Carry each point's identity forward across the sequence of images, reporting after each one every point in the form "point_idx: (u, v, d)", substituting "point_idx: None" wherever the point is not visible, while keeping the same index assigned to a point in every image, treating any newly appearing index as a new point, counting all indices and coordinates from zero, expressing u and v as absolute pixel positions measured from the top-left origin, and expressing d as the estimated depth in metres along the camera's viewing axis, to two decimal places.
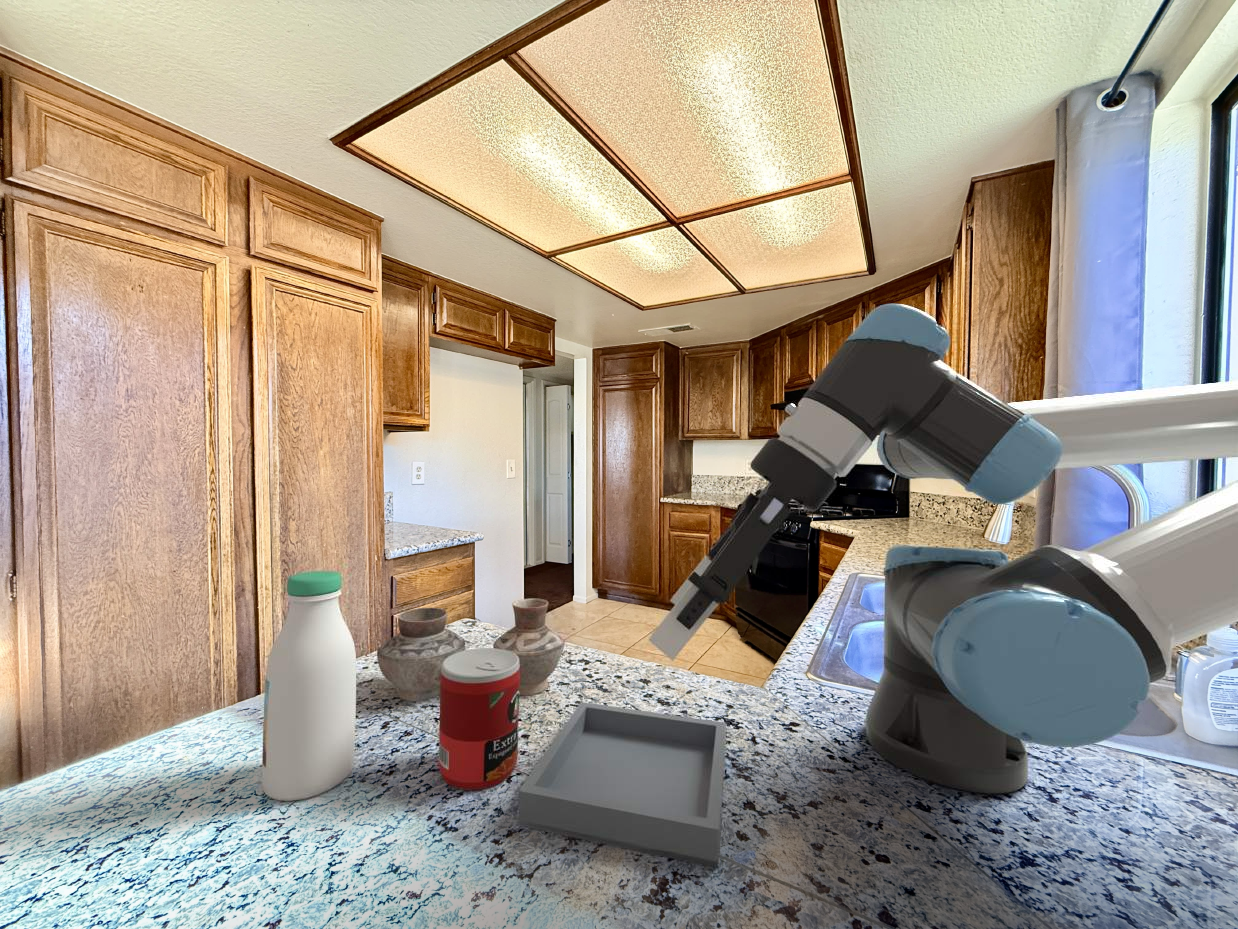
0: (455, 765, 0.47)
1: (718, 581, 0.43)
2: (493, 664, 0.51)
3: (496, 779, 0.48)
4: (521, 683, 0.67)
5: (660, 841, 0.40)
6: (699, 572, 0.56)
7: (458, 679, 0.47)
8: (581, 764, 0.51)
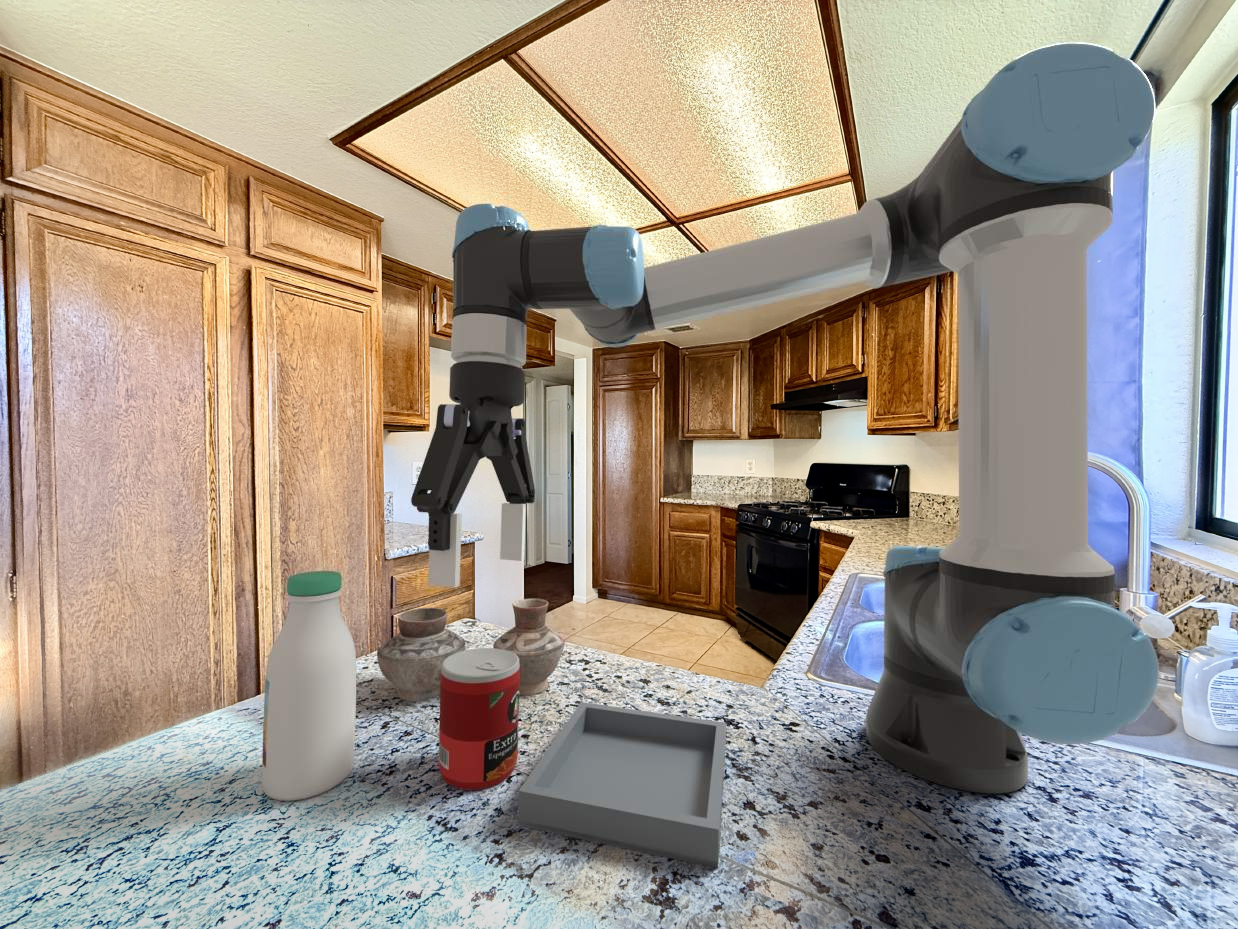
0: (455, 765, 0.47)
1: None
2: (493, 664, 0.51)
3: (496, 779, 0.48)
4: (521, 683, 0.67)
5: (660, 841, 0.40)
6: (506, 519, 0.58)
7: (458, 679, 0.47)
8: (581, 764, 0.51)
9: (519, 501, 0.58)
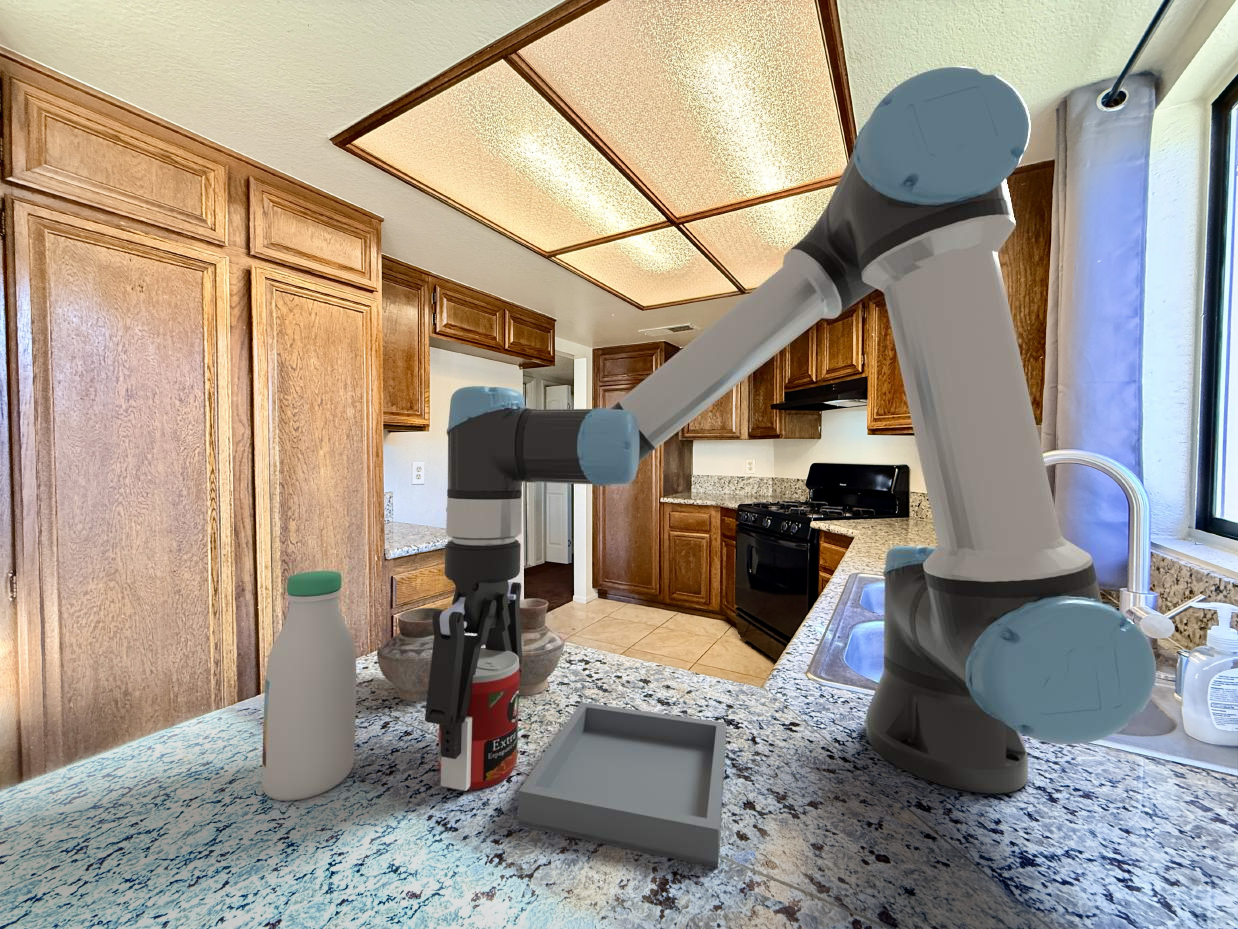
0: None
1: None
2: (493, 664, 0.51)
3: (496, 779, 0.48)
4: (521, 683, 0.67)
5: (660, 841, 0.40)
6: None
7: None
8: (581, 764, 0.51)
9: None
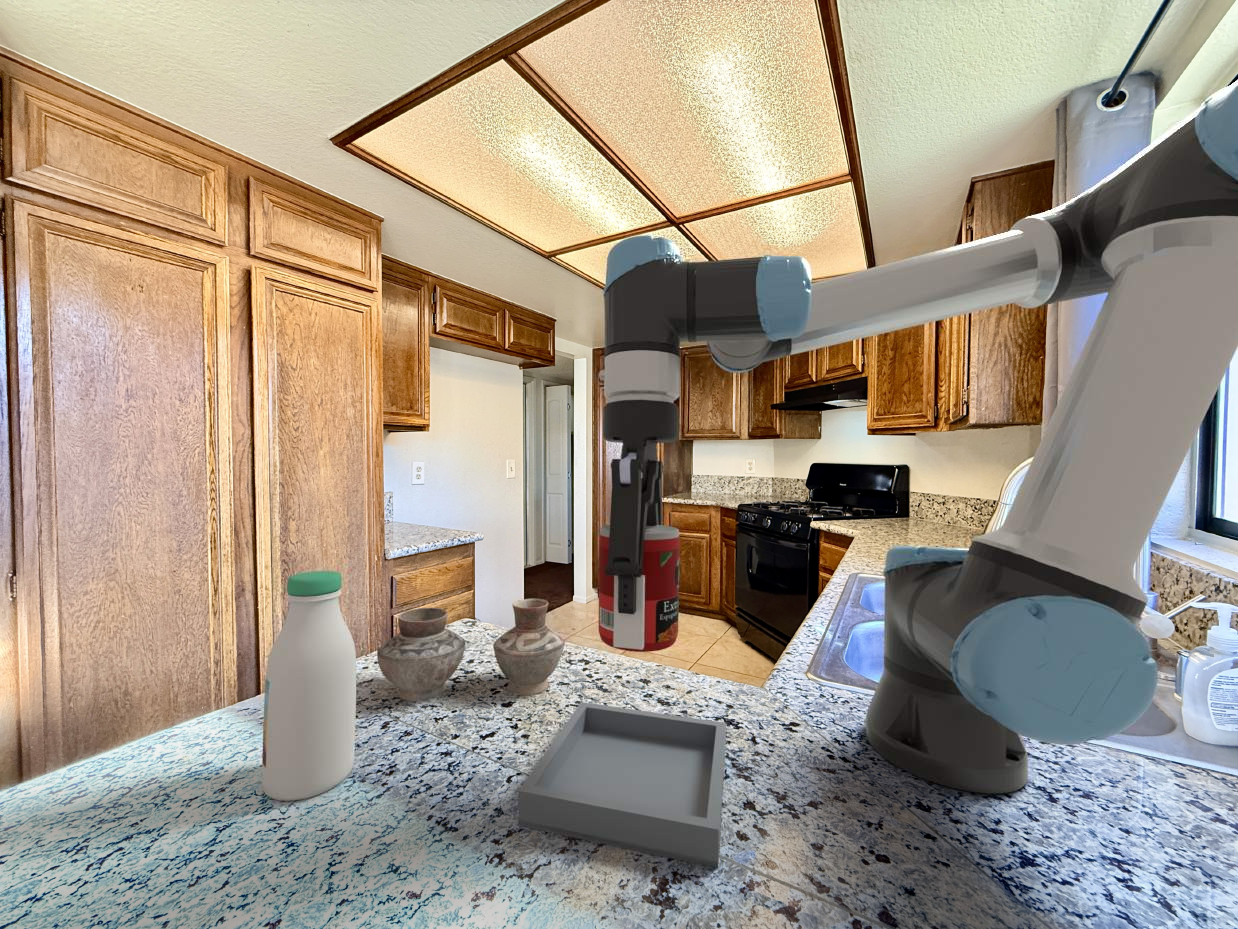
0: None
1: None
2: (652, 531, 0.49)
3: (666, 642, 0.46)
4: (521, 683, 0.67)
5: (660, 841, 0.40)
6: None
7: None
8: (581, 764, 0.51)
9: None
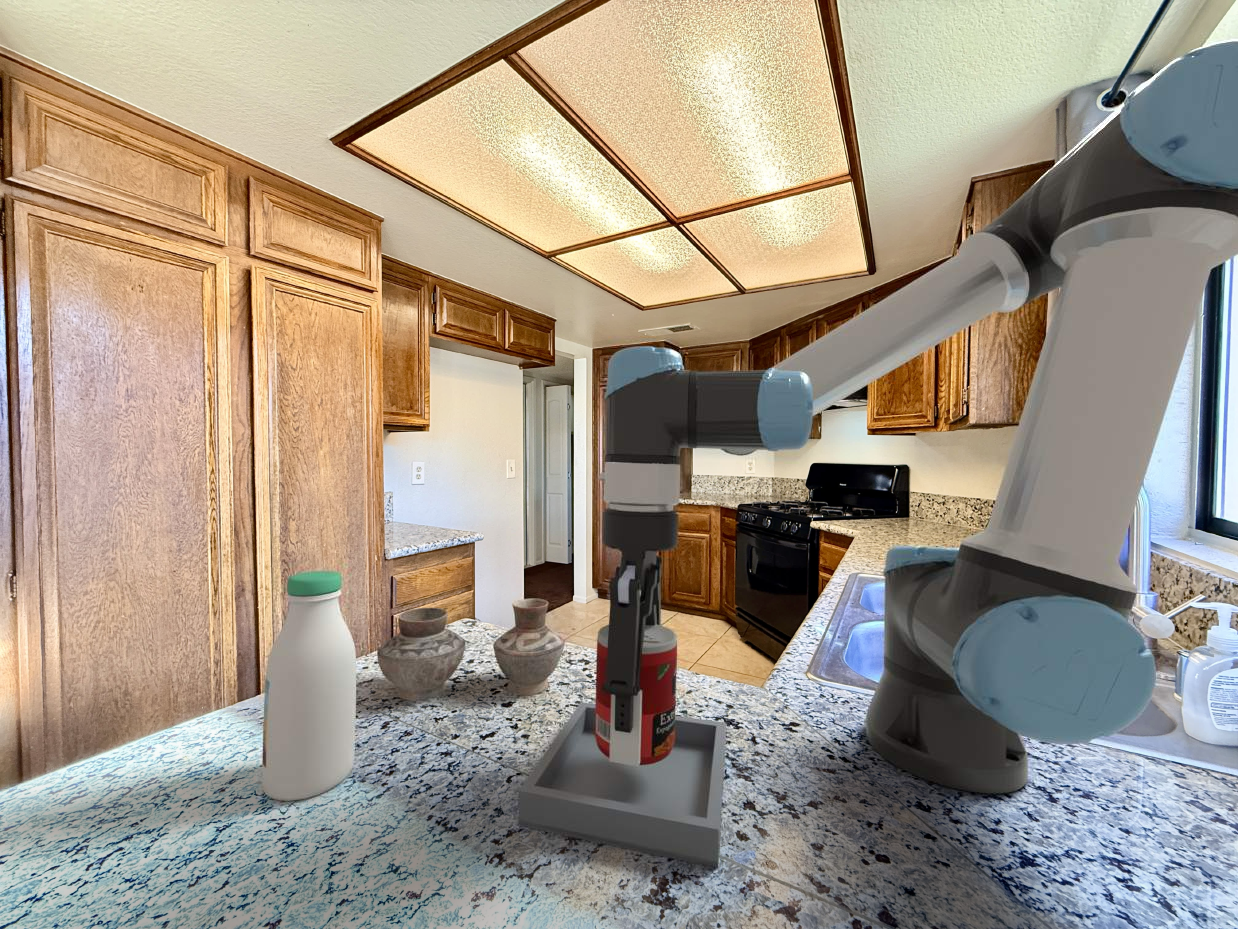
0: None
1: None
2: (650, 636, 0.49)
3: (662, 754, 0.46)
4: (521, 683, 0.67)
5: (660, 841, 0.40)
6: None
7: None
8: (581, 764, 0.51)
9: None
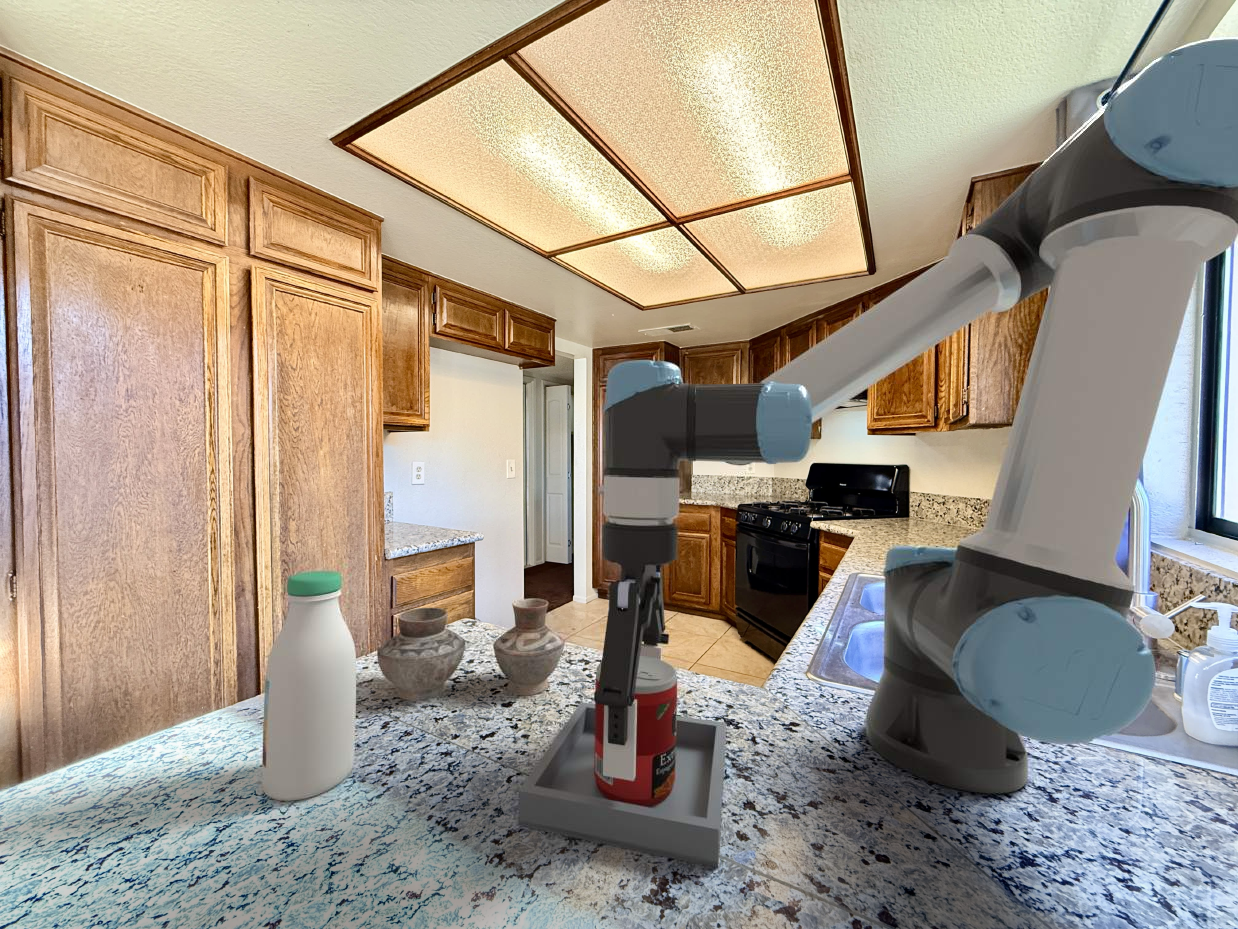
0: (621, 781, 0.45)
1: None
2: (650, 673, 0.48)
3: (662, 796, 0.45)
4: (521, 683, 0.67)
5: (660, 841, 0.40)
6: None
7: None
8: (581, 764, 0.51)
9: (655, 642, 0.56)
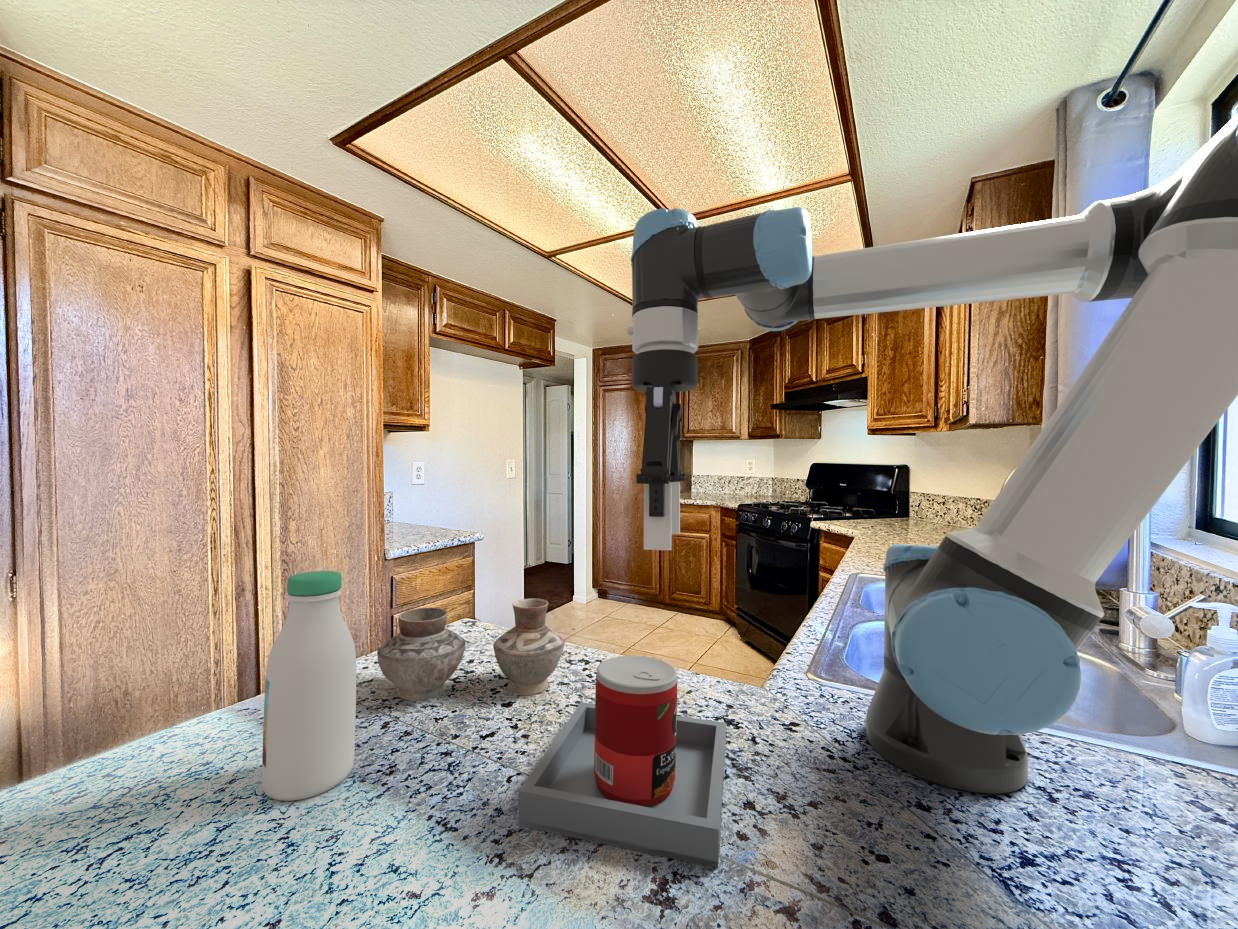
0: (621, 781, 0.45)
1: None
2: (650, 673, 0.48)
3: (662, 796, 0.45)
4: (521, 683, 0.67)
5: (660, 841, 0.40)
6: None
7: (625, 690, 0.45)
8: (581, 764, 0.51)
9: (673, 479, 0.63)
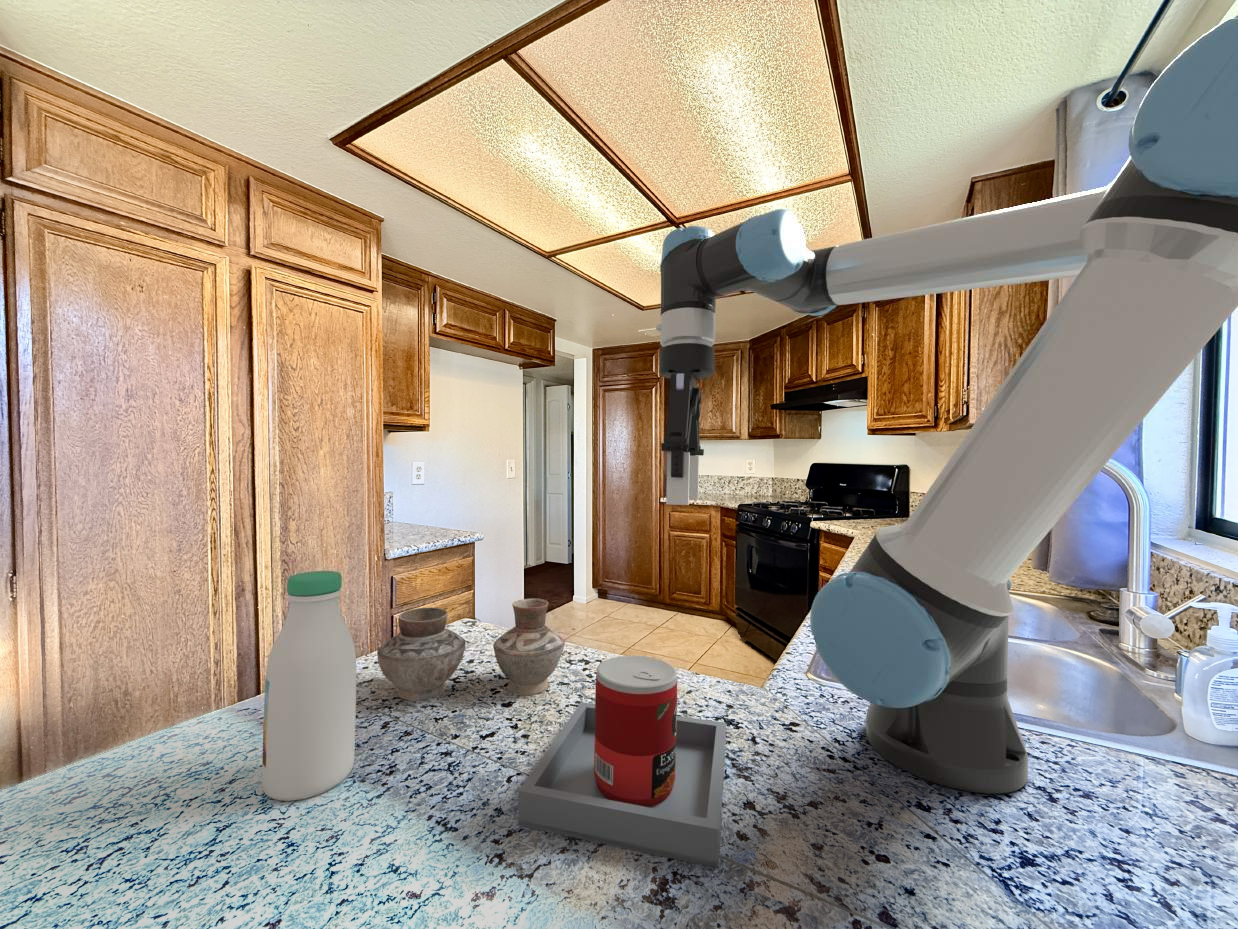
0: (621, 781, 0.45)
1: None
2: (650, 673, 0.48)
3: (662, 796, 0.45)
4: (521, 683, 0.67)
5: (660, 841, 0.40)
6: None
7: (624, 690, 0.45)
8: (581, 764, 0.51)
9: (693, 453, 0.75)
